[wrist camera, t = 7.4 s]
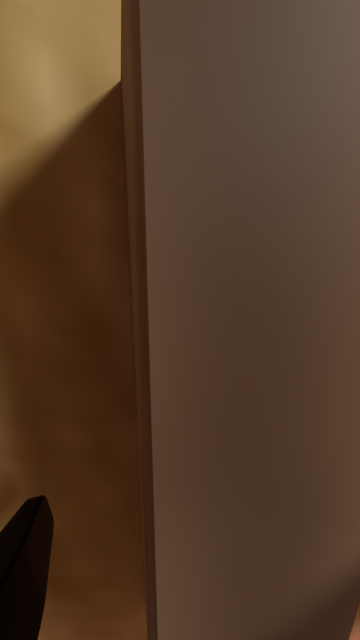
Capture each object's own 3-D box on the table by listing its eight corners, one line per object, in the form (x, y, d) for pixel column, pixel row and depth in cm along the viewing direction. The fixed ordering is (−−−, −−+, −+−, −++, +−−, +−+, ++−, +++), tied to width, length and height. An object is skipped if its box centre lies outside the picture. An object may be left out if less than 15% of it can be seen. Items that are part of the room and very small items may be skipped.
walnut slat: (260, 101, 8) (601, -227, 2) (224, 575, 14) (298, 810, 8) (120, 85, 7) (124, -477, 2) (145, 595, 13) (164, 872, 7)
